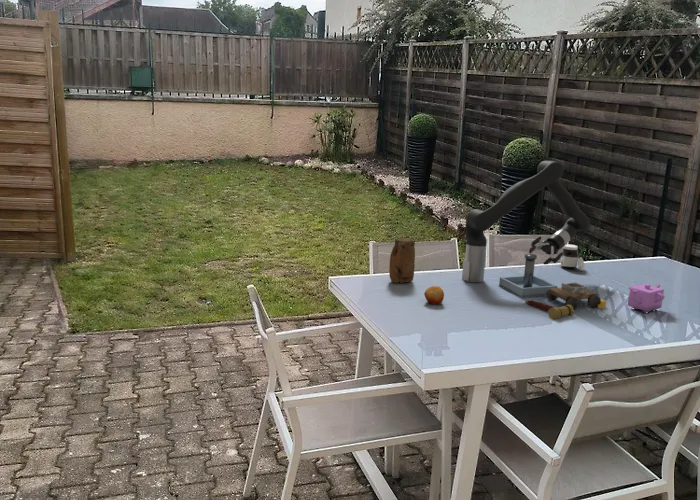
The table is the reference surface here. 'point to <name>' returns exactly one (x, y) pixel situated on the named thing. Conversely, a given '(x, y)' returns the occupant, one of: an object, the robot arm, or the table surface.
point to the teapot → (645, 297)
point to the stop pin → (529, 270)
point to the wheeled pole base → (574, 295)
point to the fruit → (434, 295)
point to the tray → (516, 287)
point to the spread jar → (571, 258)
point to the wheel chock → (602, 304)
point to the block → (402, 261)
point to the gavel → (553, 309)
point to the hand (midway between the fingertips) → (537, 257)
